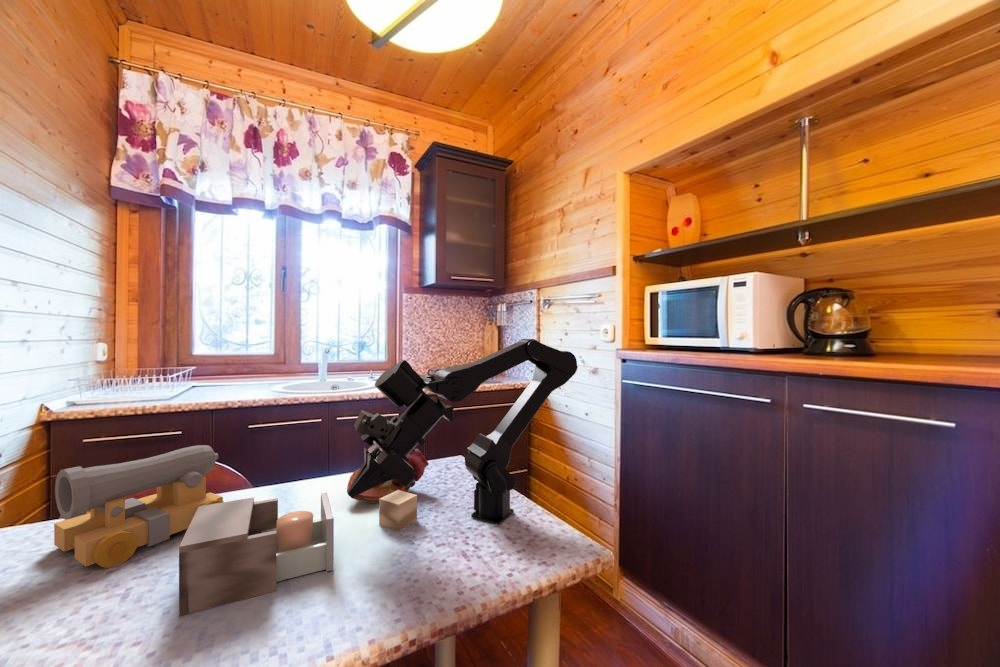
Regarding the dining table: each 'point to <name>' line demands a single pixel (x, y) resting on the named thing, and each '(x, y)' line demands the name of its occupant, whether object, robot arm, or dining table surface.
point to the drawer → (310, 548)
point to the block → (398, 510)
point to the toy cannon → (130, 503)
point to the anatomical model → (391, 486)
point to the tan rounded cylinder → (294, 531)
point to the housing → (228, 554)
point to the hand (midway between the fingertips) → (349, 495)
